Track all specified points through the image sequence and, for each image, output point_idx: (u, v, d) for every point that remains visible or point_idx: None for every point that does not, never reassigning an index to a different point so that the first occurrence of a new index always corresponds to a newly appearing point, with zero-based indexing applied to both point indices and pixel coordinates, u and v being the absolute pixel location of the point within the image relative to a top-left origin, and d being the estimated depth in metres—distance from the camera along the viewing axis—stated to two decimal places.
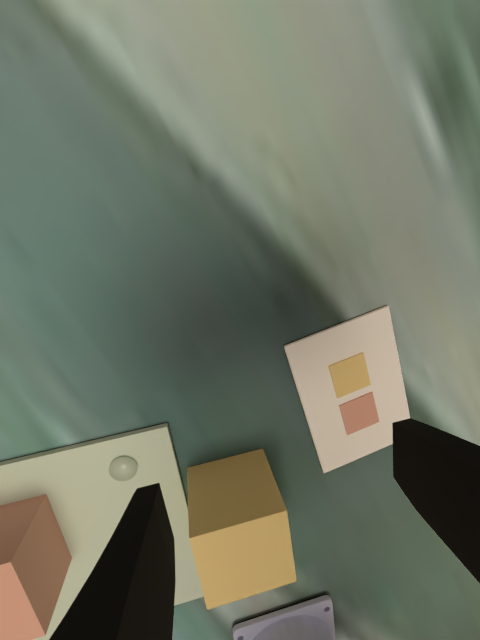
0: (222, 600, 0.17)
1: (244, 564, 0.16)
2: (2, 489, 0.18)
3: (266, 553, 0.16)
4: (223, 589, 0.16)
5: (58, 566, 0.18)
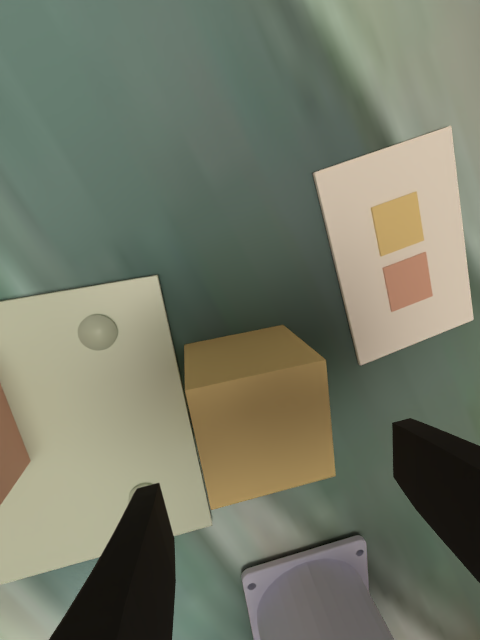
0: (232, 496, 0.12)
1: (264, 441, 0.11)
2: None
3: (295, 427, 0.12)
4: (234, 478, 0.12)
5: (7, 460, 0.13)
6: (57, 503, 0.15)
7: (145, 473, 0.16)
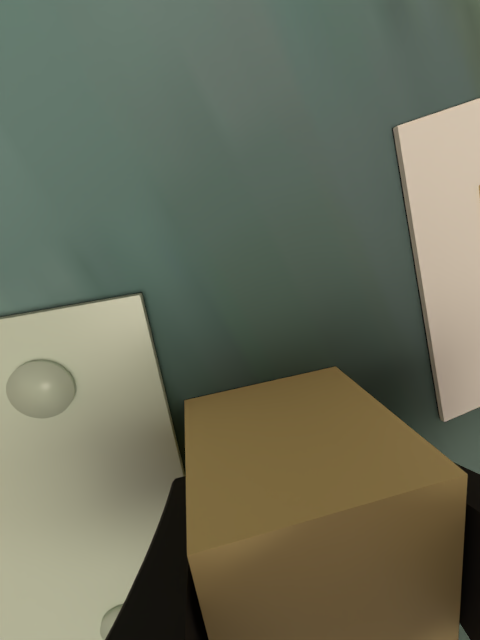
0: None
1: (339, 625, 0.06)
2: None
3: (398, 595, 0.06)
4: None
5: None
6: None
7: (126, 590, 0.10)
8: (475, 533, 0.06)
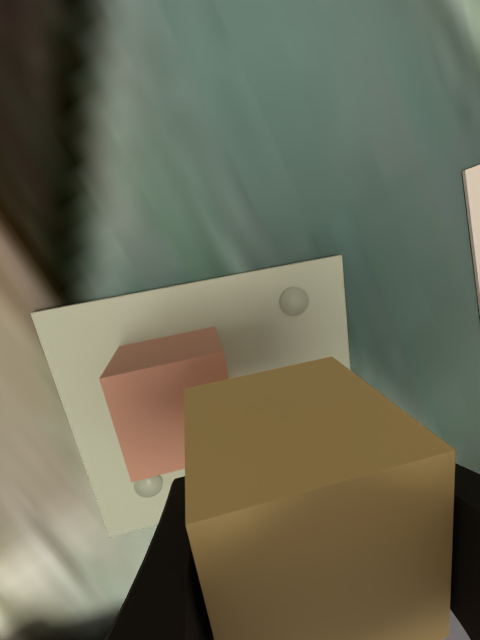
0: None
1: (333, 598, 0.06)
2: (171, 315, 0.16)
3: (390, 569, 0.06)
4: None
5: None
6: None
7: None
8: (475, 533, 0.06)
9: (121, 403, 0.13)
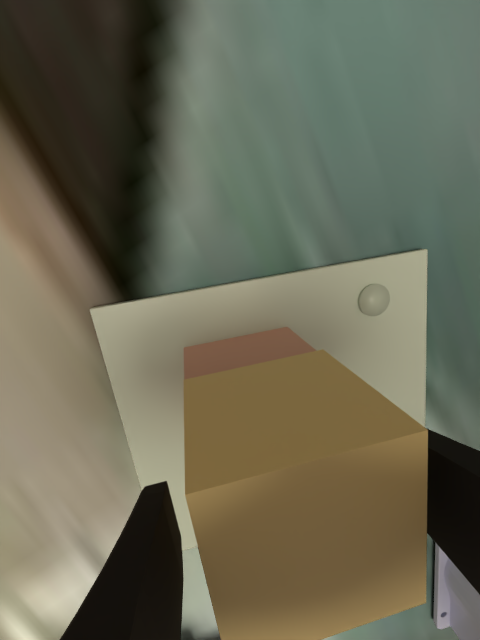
0: None
1: (318, 564, 0.07)
2: (242, 313, 0.15)
3: (370, 538, 0.07)
4: (267, 623, 0.07)
5: None
6: None
7: None
8: None
9: None
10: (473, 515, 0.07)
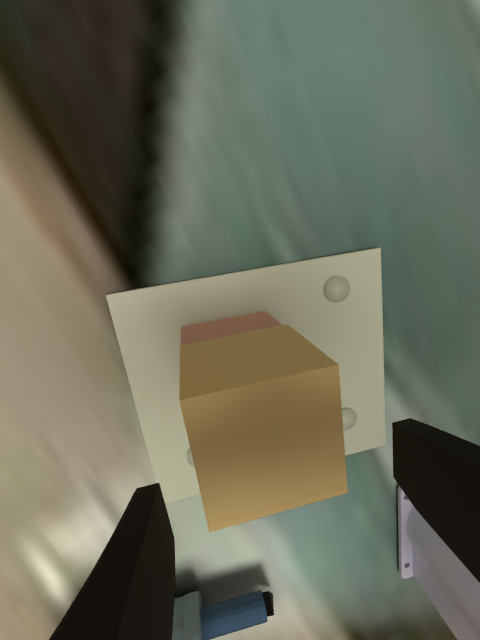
0: (233, 517, 0.11)
1: (269, 456, 0.10)
2: (228, 299, 0.18)
3: (304, 440, 0.10)
4: (235, 497, 0.10)
5: None
6: None
7: (348, 400, 0.21)
8: None
9: None
10: None
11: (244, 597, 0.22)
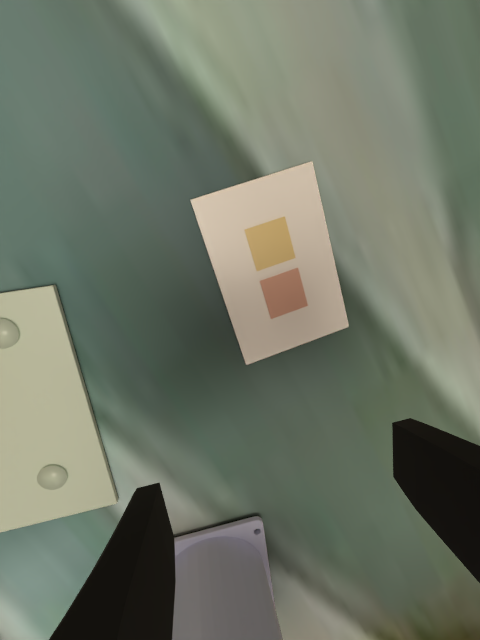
0: None
1: None
2: None
3: None
4: None
5: None
6: None
7: (52, 456, 0.18)
8: None
9: None
10: None
11: None
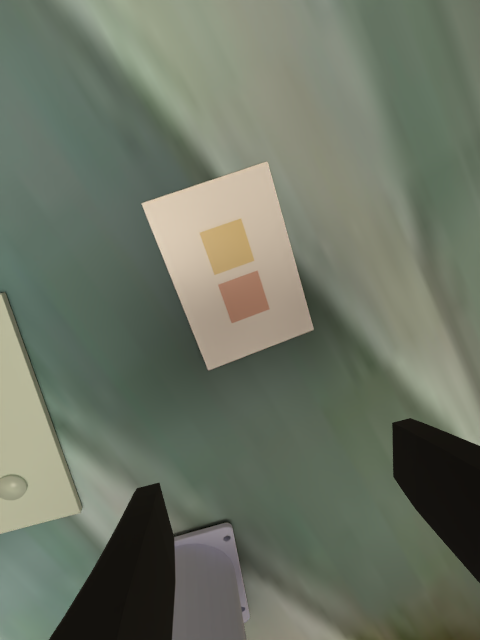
0: None
1: None
2: None
3: None
4: None
5: None
6: None
7: (10, 466, 0.18)
8: None
9: None
10: None
11: None
